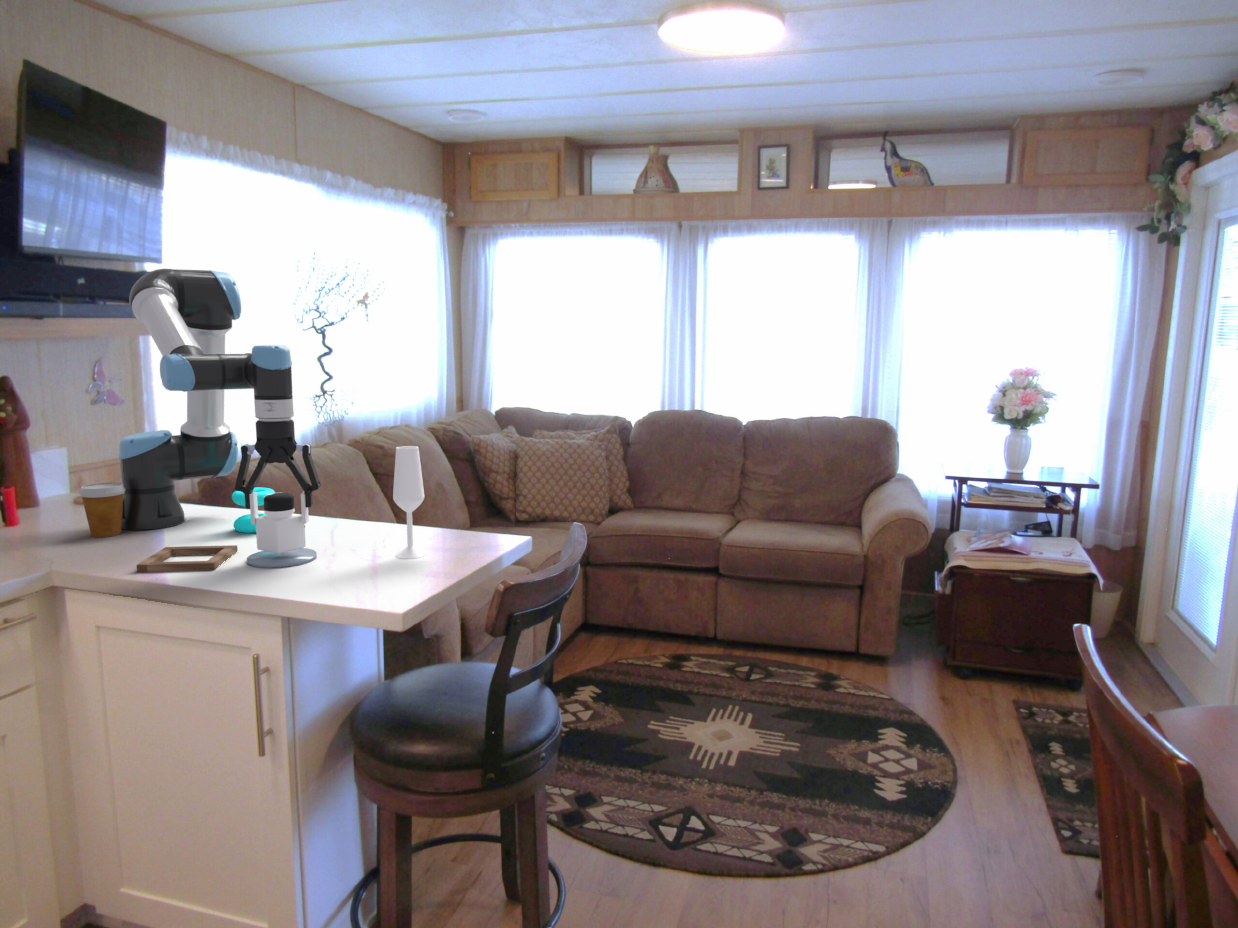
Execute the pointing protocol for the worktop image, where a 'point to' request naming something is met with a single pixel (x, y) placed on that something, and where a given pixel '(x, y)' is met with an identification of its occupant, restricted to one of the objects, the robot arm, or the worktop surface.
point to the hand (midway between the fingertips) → (280, 522)
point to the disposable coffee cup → (103, 508)
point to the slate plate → (282, 558)
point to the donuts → (244, 521)
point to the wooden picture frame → (158, 565)
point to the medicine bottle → (279, 525)
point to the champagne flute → (408, 492)
